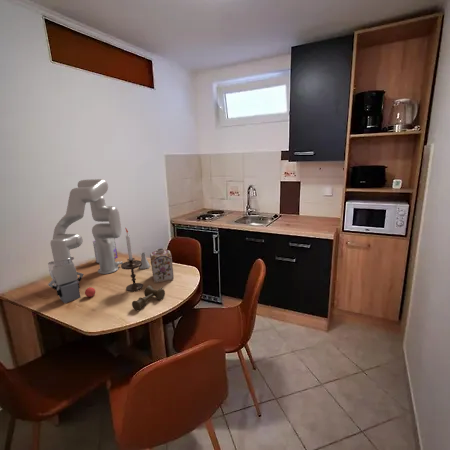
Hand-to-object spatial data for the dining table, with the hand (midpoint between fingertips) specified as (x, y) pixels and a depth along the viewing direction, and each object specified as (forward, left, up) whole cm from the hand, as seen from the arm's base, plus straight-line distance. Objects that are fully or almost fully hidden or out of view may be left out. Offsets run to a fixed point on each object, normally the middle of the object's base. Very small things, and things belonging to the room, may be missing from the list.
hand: (69, 292), depth 144 cm
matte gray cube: (0, 0, -3) cm, 3 cm away
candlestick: (-28, +17, -3) cm, 33 cm away
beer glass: (-1, -21, -3) cm, 21 cm away
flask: (-48, -6, -3) cm, 48 cm away
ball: (-8, +7, -1) cm, 11 cm away
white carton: (-38, -41, -3) cm, 56 cm away
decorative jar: (-46, +18, -3) cm, 50 cm away
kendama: (-26, +37, -4) cm, 45 cm away
